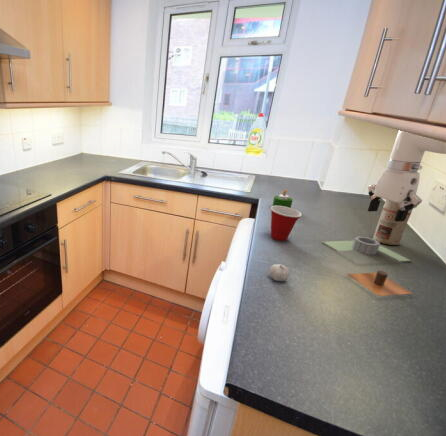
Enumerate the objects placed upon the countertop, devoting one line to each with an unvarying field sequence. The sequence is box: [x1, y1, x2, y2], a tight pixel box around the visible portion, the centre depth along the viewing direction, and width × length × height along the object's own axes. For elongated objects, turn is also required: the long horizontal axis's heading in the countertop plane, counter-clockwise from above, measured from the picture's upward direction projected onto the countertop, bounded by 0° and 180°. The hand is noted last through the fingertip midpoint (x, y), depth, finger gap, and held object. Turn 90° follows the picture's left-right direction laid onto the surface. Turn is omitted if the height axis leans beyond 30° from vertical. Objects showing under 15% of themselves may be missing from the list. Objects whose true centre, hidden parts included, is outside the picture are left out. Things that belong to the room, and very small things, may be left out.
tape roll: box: [352, 236, 381, 255], centre depth 107 cm, size 7×7×4 cm
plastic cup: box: [270, 205, 303, 242], centre depth 115 cm, size 11×11×12 cm
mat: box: [322, 240, 411, 263], centre depth 108 cm, size 20×16×1 cm
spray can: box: [371, 199, 413, 246], centre depth 113 cm, size 8×8×20 cm
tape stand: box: [346, 270, 414, 297], centre depth 87 cm, size 11×11×4 cm
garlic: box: [269, 263, 291, 282], centre depth 89 cm, size 6×5×5 cm
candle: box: [271, 189, 294, 208], centre depth 148 cm, size 8×8×10 cm
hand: (385, 215), depth 101 cm, fingers open, 9 cm apart
